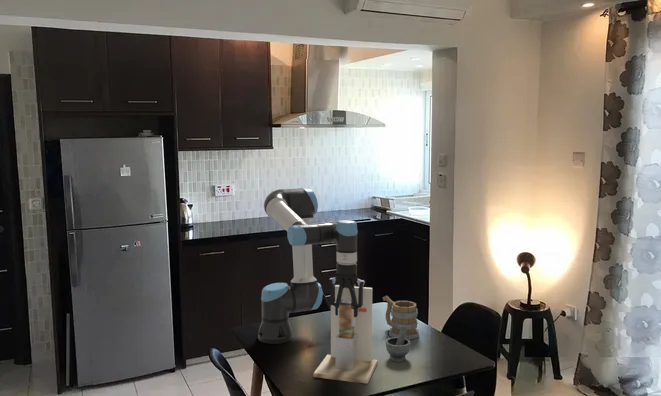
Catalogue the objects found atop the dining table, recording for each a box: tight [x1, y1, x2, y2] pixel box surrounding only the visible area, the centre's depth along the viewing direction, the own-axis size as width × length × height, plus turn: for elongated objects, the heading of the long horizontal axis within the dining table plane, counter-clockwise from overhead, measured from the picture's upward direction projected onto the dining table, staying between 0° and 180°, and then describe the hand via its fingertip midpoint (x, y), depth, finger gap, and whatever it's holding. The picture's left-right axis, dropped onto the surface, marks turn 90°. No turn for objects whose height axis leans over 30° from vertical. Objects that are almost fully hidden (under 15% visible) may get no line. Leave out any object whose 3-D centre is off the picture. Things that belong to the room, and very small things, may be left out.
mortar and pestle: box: [385, 326, 411, 363], centre depth 215 cm, size 11×9×12 cm
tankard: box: [382, 295, 420, 341], centre depth 244 cm, size 20×13×15 cm, turn 34°
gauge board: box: [330, 284, 373, 361], centre depth 209 cm, size 16×2×28 cm, turn 74°
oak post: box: [339, 299, 354, 338], centre depth 203 cm, size 5×5×24 cm
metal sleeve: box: [336, 333, 357, 371], centre depth 203 cm, size 7×7×12 cm
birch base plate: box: [313, 353, 378, 384], centre depth 204 cm, size 20×18×2 cm
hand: (346, 324), depth 202 cm, fingers closed on oak post, 4 cm apart
